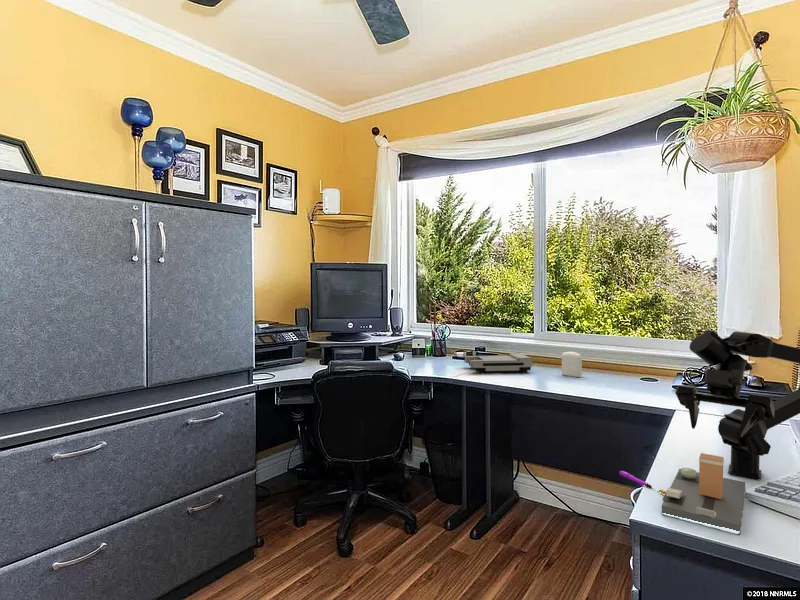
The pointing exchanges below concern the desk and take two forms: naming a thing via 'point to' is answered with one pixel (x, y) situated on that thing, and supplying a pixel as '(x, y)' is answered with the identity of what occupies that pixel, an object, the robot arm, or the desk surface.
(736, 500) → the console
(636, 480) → the purple screwdriver
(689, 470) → the push button
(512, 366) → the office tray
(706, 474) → the fader knob
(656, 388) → the desk surface
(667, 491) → the block
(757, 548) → the desk surface
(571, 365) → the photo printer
